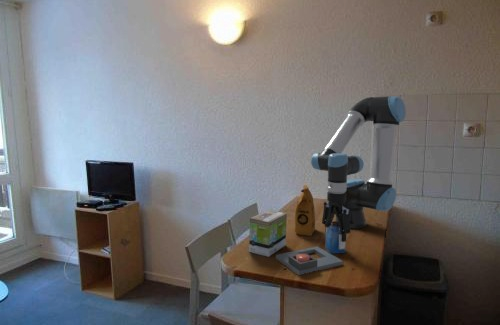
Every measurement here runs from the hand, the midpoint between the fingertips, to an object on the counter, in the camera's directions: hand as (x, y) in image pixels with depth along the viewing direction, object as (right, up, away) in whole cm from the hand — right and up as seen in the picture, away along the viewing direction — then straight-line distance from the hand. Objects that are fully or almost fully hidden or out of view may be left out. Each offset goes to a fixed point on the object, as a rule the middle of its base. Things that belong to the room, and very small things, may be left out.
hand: (335, 244), depth 145 cm
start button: (-16, -2, -17) cm, 23 cm away
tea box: (-28, -2, +2) cm, 28 cm away
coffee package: (-9, +1, +23) cm, 25 cm away
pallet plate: (-13, -4, -10) cm, 17 cm away
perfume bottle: (0, -2, 0) cm, 2 cm away
